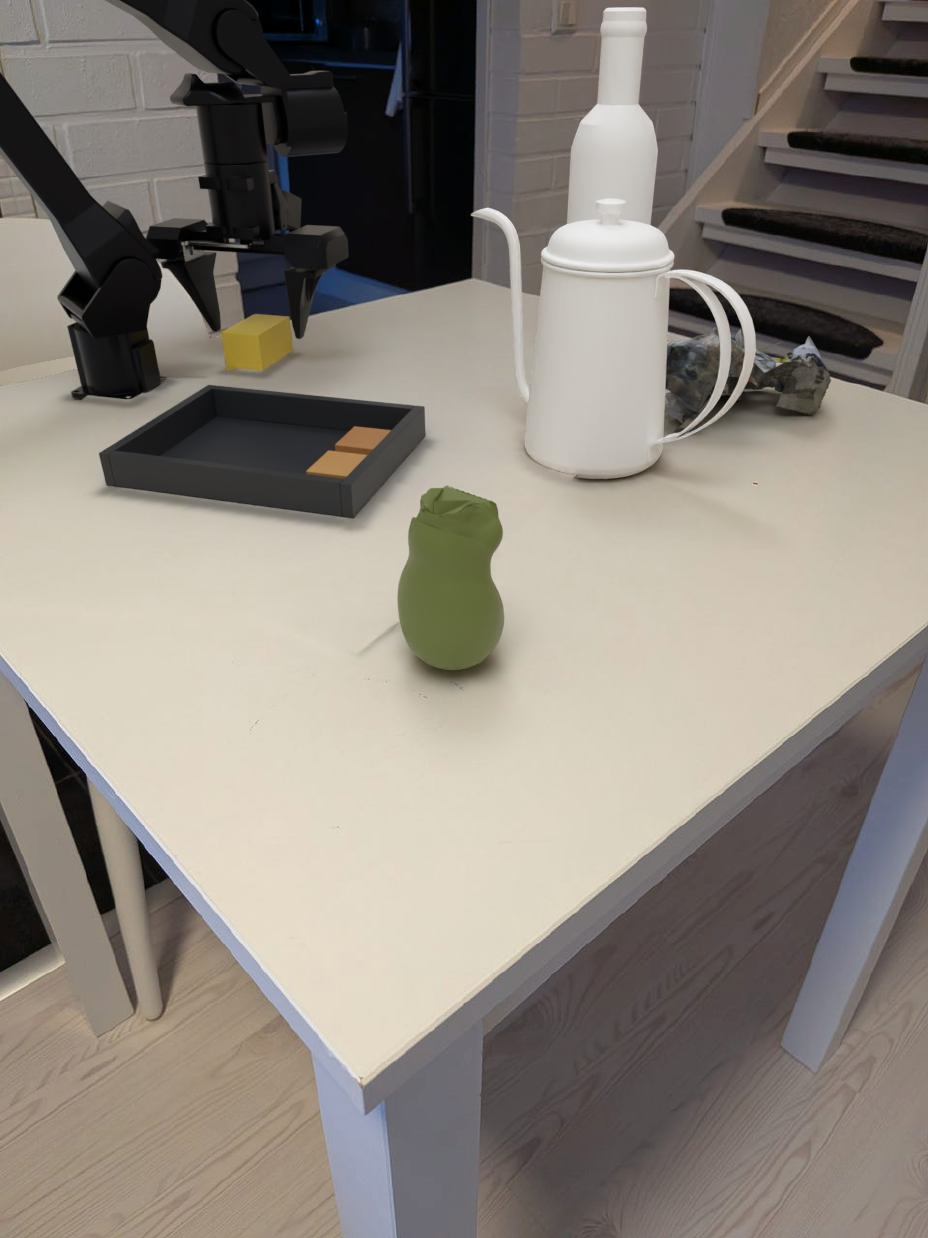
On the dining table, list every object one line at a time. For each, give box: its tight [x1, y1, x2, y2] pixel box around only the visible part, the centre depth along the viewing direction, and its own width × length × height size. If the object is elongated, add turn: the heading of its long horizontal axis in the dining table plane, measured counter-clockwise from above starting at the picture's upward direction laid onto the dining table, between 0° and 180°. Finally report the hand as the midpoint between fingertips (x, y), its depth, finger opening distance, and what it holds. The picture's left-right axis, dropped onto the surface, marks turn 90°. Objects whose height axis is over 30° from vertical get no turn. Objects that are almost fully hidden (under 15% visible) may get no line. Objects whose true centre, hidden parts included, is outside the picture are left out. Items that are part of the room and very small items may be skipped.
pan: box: [98, 384, 426, 519], centre depth 71 cm, size 20×16×3 cm
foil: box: [664, 326, 832, 433], centre depth 79 cm, size 12×11×15 cm
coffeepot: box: [470, 198, 757, 480], centre depth 68 cm, size 11×25×19 cm, turn 47°
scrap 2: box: [335, 426, 391, 455], centre depth 71 cm, size 4×4×2 cm
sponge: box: [220, 313, 294, 372], centre depth 92 cm, size 4×7×4 cm, turn 164°
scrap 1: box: [306, 451, 367, 479], centre depth 67 cm, size 4×4×2 cm
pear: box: [396, 485, 505, 671], centre depth 47 cm, size 6×5×10 cm
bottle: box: [566, 6, 659, 226], centre depth 84 cm, size 8×8×30 cm
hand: (258, 334), depth 91 cm, fingers open, 9 cm apart
